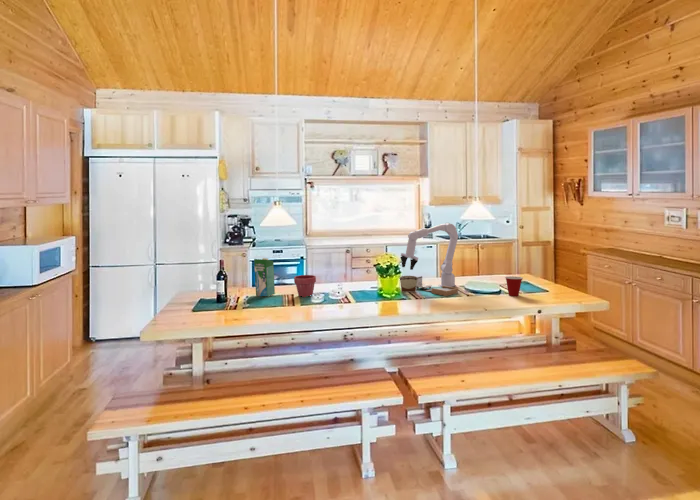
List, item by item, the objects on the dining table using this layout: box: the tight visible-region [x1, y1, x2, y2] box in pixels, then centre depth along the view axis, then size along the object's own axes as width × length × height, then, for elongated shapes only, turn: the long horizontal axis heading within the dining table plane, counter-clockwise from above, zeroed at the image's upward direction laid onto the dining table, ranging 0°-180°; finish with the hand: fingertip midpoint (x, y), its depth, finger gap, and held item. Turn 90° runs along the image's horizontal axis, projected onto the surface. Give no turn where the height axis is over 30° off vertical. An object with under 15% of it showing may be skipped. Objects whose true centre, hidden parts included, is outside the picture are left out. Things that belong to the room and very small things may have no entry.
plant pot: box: [293, 274, 317, 298], centre depth 316 cm, size 14×14×13 cm
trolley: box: [416, 275, 433, 291], centre depth 329 cm, size 7×9×8 cm
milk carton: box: [253, 257, 276, 297], centre depth 320 cm, size 9×9×25 cm
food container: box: [399, 275, 418, 293], centre depth 323 cm, size 12×6×10 cm, turn 84°
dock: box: [423, 286, 459, 297], centre depth 318 cm, size 12×21×4 cm, turn 40°
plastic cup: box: [504, 275, 524, 297], centre depth 304 cm, size 11×11×12 cm
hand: (407, 268), depth 332 cm, fingers open, 7 cm apart
